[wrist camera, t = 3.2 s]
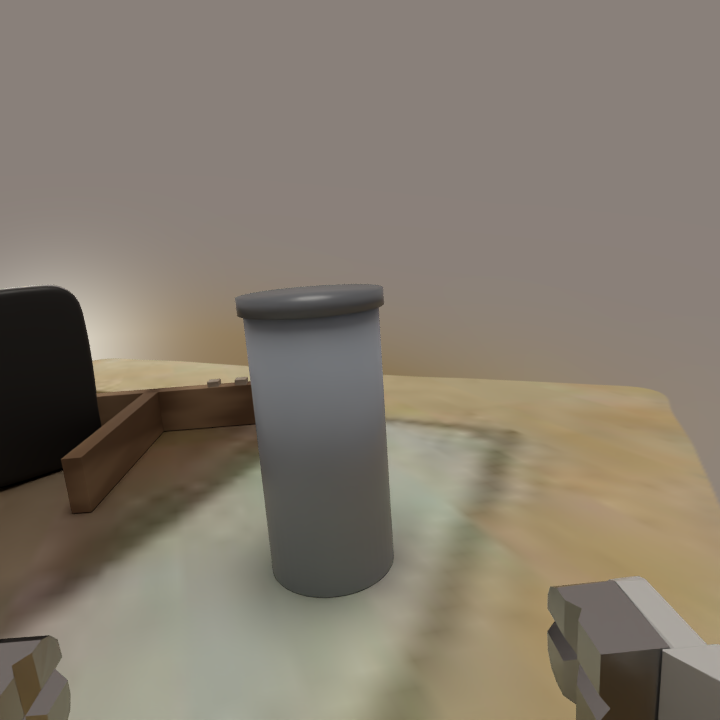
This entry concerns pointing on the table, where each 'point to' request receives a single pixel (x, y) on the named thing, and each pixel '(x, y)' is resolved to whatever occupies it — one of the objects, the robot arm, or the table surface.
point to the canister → (321, 434)
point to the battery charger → (43, 381)
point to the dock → (146, 431)
